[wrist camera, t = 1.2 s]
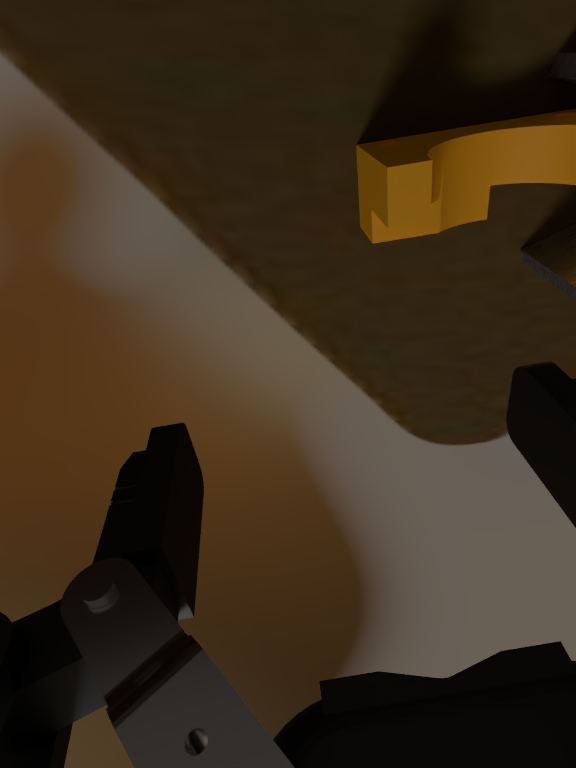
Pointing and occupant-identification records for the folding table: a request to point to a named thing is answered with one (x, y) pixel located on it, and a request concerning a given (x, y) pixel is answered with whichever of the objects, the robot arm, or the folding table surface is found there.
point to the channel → (570, 245)
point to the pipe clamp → (458, 172)
